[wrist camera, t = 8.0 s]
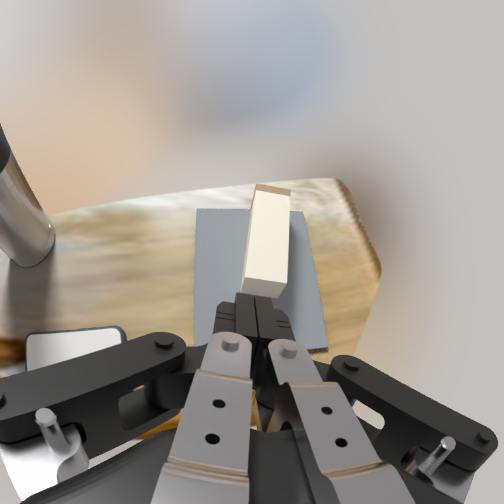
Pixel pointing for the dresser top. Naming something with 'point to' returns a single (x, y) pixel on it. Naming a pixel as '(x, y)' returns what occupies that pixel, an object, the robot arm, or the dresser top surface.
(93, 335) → the dark grey smartphone
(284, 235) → the cream block
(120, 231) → the dresser top surface
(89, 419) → the robot arm
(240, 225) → the rubber mat
